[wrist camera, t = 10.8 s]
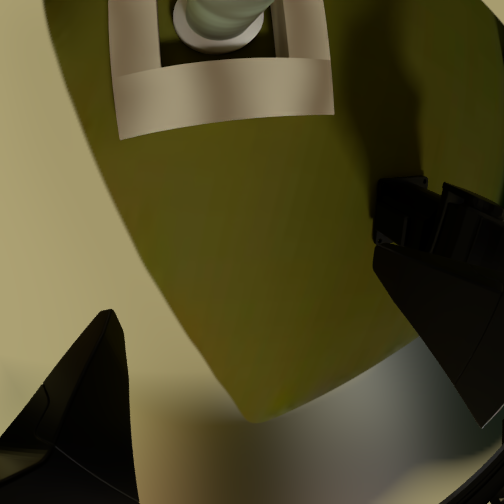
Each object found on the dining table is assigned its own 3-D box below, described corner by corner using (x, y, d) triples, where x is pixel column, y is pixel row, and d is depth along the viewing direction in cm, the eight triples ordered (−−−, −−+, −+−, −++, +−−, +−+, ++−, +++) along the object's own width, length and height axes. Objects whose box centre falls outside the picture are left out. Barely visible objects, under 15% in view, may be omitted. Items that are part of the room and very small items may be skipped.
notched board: (304, -12, 15) (319, -23, 13) (317, 113, 20) (334, 114, 18) (115, -1, 12) (108, -14, 10) (126, 137, 18) (119, 139, 15)
